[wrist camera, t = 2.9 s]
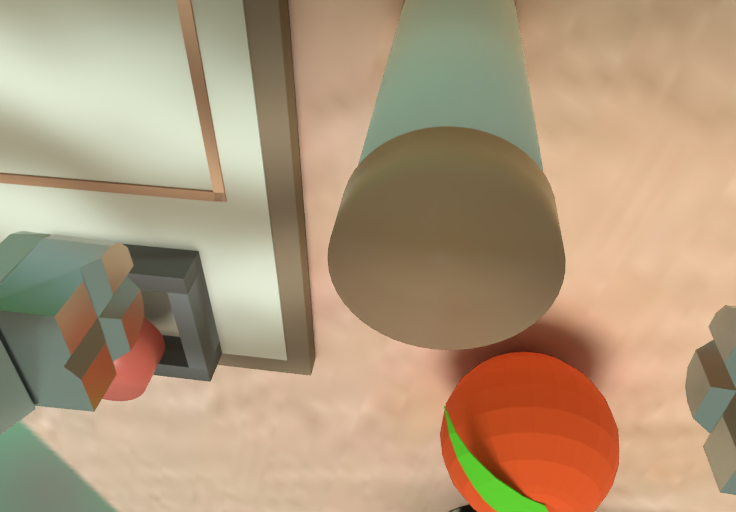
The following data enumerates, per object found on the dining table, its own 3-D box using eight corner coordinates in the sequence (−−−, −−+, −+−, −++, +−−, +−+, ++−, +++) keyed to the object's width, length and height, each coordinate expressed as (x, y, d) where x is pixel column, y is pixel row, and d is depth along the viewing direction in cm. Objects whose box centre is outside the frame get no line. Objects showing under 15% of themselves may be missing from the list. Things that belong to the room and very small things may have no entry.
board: (-221, -171, 16) (-319, -160, 14) (275, -159, 15) (244, -144, 13) (36, 327, 29) (3, 370, 27) (315, 358, 28) (302, 406, 26)
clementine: (394, 356, 27) (374, 505, 22) (508, 276, 23) (519, 434, 18) (516, 434, 30) (525, 585, 24) (638, 375, 26) (681, 539, 20)
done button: (63, 298, 23) (37, 333, 21) (153, 308, 22) (133, 344, 21) (91, 360, 25) (69, 395, 24) (173, 369, 25) (156, 405, 23)
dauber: (402, -53, 16) (323, 161, 8) (529, -47, 16) (593, 182, 7) (397, 68, 18) (331, 337, 10) (508, 75, 18) (539, 360, 10)
